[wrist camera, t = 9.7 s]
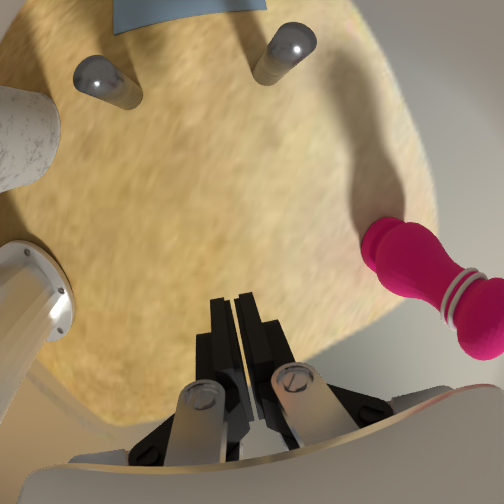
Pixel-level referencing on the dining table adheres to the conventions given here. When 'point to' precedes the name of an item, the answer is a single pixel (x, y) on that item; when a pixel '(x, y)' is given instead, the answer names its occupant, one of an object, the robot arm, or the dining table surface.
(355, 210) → the dining table surface
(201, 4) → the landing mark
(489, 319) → the pepper mill
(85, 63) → the post
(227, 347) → the robot arm
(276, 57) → the post
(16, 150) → the speckled stone cylinder
